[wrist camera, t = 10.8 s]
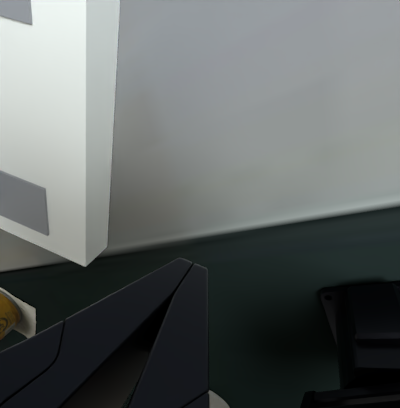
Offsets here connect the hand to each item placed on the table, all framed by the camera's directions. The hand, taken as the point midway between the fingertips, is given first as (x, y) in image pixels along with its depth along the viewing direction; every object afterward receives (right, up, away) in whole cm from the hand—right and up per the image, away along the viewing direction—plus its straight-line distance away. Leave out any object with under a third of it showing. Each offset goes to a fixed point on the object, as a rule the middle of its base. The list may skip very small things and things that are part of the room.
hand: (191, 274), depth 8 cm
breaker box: (-13, +10, +14) cm, 22 cm away
